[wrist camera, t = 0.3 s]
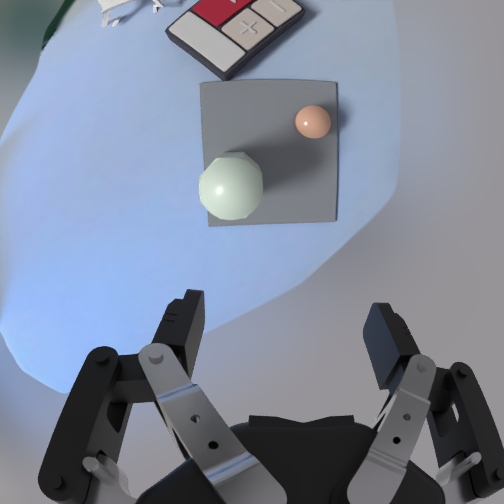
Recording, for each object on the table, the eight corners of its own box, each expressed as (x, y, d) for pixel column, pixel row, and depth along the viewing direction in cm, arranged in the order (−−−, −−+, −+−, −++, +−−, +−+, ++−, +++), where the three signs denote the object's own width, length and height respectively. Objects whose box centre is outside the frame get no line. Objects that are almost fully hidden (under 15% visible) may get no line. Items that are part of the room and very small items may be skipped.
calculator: (308, 8, 26) (224, 76, 29) (301, 20, 30) (225, 83, 33) (246, -36, 23) (161, 28, 26) (245, -21, 27) (168, 39, 30)
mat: (200, 83, 33) (199, 83, 32) (334, 82, 33) (335, 82, 32) (209, 225, 41) (208, 226, 40) (334, 221, 41) (335, 222, 40)
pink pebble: (292, 107, 34) (296, 104, 31) (323, 108, 34) (330, 106, 31) (293, 137, 36) (297, 138, 32) (324, 138, 36) (331, 138, 32)
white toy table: (91, 35, 28) (76, 27, 24) (104, -8, 25) (91, -19, 20) (164, 27, 29) (154, 15, 24) (175, -17, 26) (168, -32, 21)
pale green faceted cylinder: (209, 153, 36) (196, 160, 27) (257, 150, 36) (261, 156, 27) (212, 200, 39) (201, 221, 30) (259, 197, 39) (263, 218, 30)
